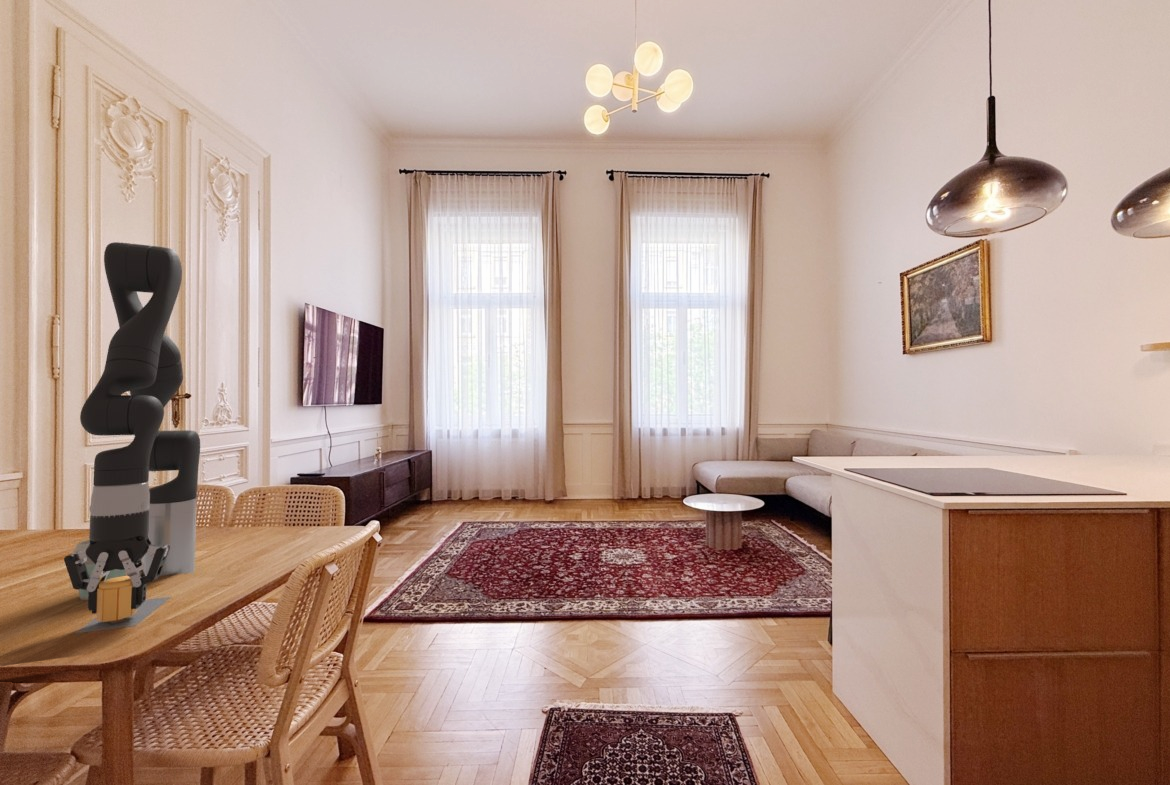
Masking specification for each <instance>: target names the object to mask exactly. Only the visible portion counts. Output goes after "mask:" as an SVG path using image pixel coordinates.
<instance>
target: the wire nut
mask: <svg viewBox="0 0 1170 785" xmlns="http://www.w3.org/2000/svg"><path fill="white" fill-rule="evenodd" d="M133 587H134V586H133V584H132V582H131V579H130V577H129V576H128V575H126V576H121V577H115V578H111V579H107V580H104V581H101V582H100V583H99V588H97V613H95V614H96V617H95V619H96V620H97V621H100V622H106V621H115V620H119V619H123V618H126V617H129V616H131V615H133V614H135V613H136V612H137V609H131V595H132V588H133Z"/></svg>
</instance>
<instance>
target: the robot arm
mask: <svg viewBox="0 0 1170 785" xmlns="http://www.w3.org/2000/svg"><path fill="white" fill-rule="evenodd" d="M181 262H182V261H181V259H180V257H179V255H178V253H177V252H176V251H175V250H174V249H173V248H170V247H169V248H168V247H164V246H156V245H149V244H147V245H145V244H138V243H127V242H119V241H117V242H115V241H113V242H110V243H108V244H107V245H106V247H105V250H104V254H103V263H104V264H103V265H104V272H105V276H106V280H107V283H108V288H109V292H110V295H111V299H112V302H113V305H114V309H115V313H116V318H117V322H118V329H117V330H116V331H115V333H114V334H113V336H112V337H111V339H110V342H109V344H108V347H107V348H108V349H107V354H106V360H105V365H104V369H103V373H102V374H101V376H100V378H99V380H98V382H97V383H96V385H95V387H94V388H93V389H92V391H91V393H90V394H89V396H88V397H87V399H86V400H85V402H84V403H83V406H82V407H81V411H80V414H79V416H80V417H79V420H80V421H79V422H80V424H81V426H82V428H83V429H84V430H85V432H87V433H89V434H90V435H93V436H134V437H133V439H132V440H131V442H130V443H129V444H128V445H126V446H123V447H118V448H111V449H107V450H103V451H100V452H98V453H97V454H96V455H95V456H94V462H93V463H94V464H93V484H92V486H93V487H92V493H91V495H90V496H91V497H90V505H89V510H88V511H89V514H90V515H89V534H88V540H90V544H89V546H88V547H87V549H86V550H85V551H81V552H75V553H74V552H73V553H71V554H68V555H66V556H65V557H64V558H63V561H64V565H65V568H66V570H67V574H68V576H69V579H70V582H71V585H72V588H73V589H74V590H77V591H79V589H84V590H87V591H88V593H89V595H88V600H87V603H88V604H87V608H88V611H89V612H90V611H91V614H97V588H99V583H100V582H101V581H104V580H106V577H107V575H108V574H109V573H110V571H111V570H114V569H119V570H125V571H126V576H129V577H130V579H131V582H132V584H133V586H134V587H133V588H132V595H131V609H137V608H138V607H140V606H141V604H142V603H143V602H145V600H146V599H147V584H148V583H151V582H154V581H155V580H156V579H158V578H159V577H164V576H173V575H179V574H180V575H181V574H192V573H195V567H196V566H195V565H196V564H195V561H196V539H197V538H196V533H197V532H196V530H197V501H198V500H197V499H198V498H197V497H198V496H197V494H198V479H199V478H198V476H199V465H200V456H201V455H200V454H201V439H200V436H199V433H198V432H196V431H194V430H186V429H185V430H182V429H181V430H160V428H161V425H162V423H163V420H164V417H165V407H166V405H168V403H169V402H170V401H171V400H172V398H173V397H174V395H176V394H177V392H178V390H179V389H180V388H181V385H182V384H183V380H184V371H183V363H182V355H181V351H180V349H179V348H178V345H177V344H176V343H175V342H174V341H173V340H172V339H171V337H170V336H169V335H167V333H166V329H167V326H168V324H169V321H170V318H171V316H172V312H173V310H174V308H175V304H176V301H177V297H178V295H179V292H180V289H181V284H182V279H183V267H182V263H181ZM138 292H139V293H149V294H150V293H151V297H150V298H149V300H148V301H147V303H146V304H145V305H144V306H143V304H142V302H141V299H140V298H139V295H138ZM127 392H129V394H130V395H129V394H124V393H127ZM163 471H167V472H168V471H178V473H177V476H176V477H175V478H173V479H171V480H170V481H167V482H166V483H163V484H160V485H156V486H154V487H151V488H150V486H149V484H150V482H149V480H150V479H149V478H150V477H149V476H150V472H163ZM87 556H88V557H89V558H90V559H91V560H92V561H93V562H94V563H95V567H94V570H93V572H92V574H91V579H90V577H89V574H88V571H87V568H86V565H85V562H86V561H87Z"/></svg>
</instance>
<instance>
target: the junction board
mask: <svg viewBox="0 0 1170 785" xmlns="http://www.w3.org/2000/svg"><path fill="white" fill-rule="evenodd" d="M170 599H171V596H167V597H157V598H149V599H148V598H146V600H145V602H143V603H142V604H141V606H140V607H138V608H137V612H136V613H135V614H133V615H131V616H129V617H126V618H123V619H119V620H115V621H106V622H100V621H97V620H96V618H94V619H93V620H91V621H90V622H89V623H87V624H86V625H84V626H83V627H81V628H80V629H78V630H77V631H76V632H74V634H81V633H89V632H90V633H91V632H96V631H106V630H113V629H122V628H129V627H136V626H138V625H139V624H140V623H141V622H143V621H144V620H145V619H146V618H148V617H149V616H150V615H151V614H152V613H153V612H155V611H156V610H157V609H159V608H160V606H162V605H163V604H164V603H166V602H167V601H168V600H170Z"/></svg>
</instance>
